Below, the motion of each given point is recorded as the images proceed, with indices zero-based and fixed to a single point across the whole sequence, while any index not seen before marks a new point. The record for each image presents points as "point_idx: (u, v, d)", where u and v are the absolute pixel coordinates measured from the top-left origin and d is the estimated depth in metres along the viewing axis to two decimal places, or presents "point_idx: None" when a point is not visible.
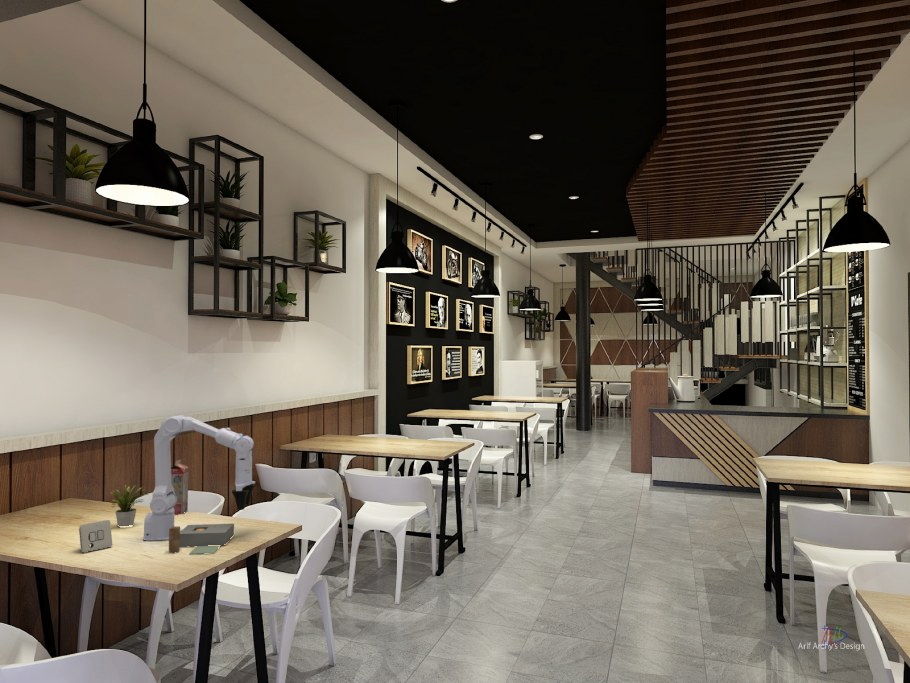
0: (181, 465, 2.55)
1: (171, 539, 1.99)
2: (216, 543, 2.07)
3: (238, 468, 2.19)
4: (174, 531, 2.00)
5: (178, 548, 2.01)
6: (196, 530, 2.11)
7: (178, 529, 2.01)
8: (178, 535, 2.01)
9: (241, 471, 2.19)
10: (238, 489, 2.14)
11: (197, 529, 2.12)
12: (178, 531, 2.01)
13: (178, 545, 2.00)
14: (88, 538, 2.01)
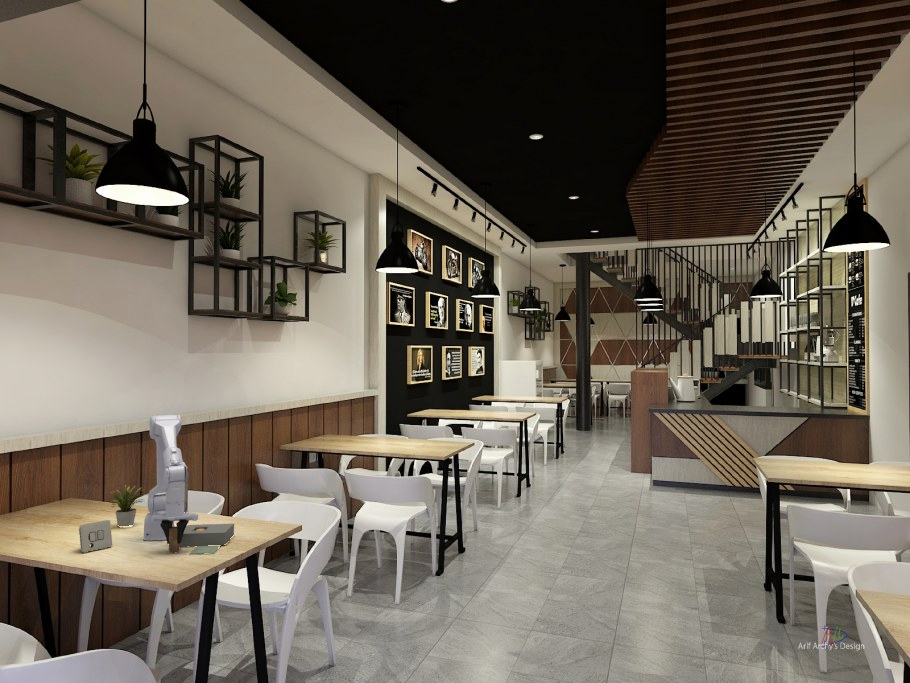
0: None
1: (171, 539, 1.99)
2: (216, 543, 2.07)
3: None
4: (174, 531, 2.00)
5: (178, 548, 2.01)
6: (196, 530, 2.11)
7: None
8: None
9: None
10: None
11: (197, 529, 2.12)
12: None
13: (178, 545, 2.00)
14: (88, 538, 2.01)
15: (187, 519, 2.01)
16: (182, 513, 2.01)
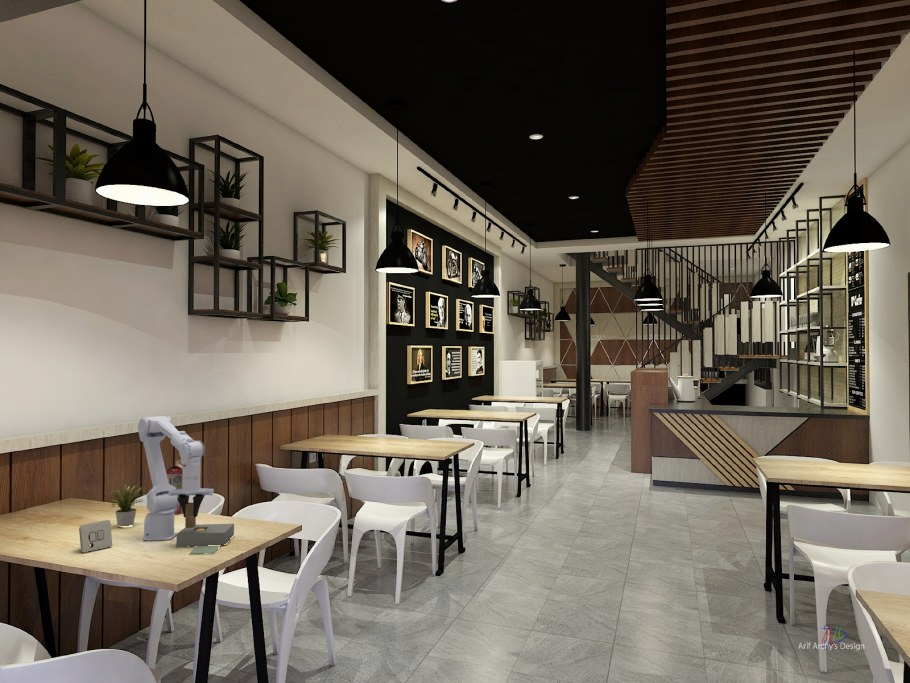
0: (181, 465, 2.55)
1: (187, 514, 2.07)
2: (216, 543, 2.07)
3: None
4: (190, 507, 2.07)
5: (194, 523, 2.08)
6: (196, 530, 2.11)
7: None
8: None
9: None
10: None
11: (197, 529, 2.12)
12: None
13: (194, 520, 2.08)
14: (88, 538, 2.01)
15: (203, 494, 2.08)
16: (198, 488, 2.08)
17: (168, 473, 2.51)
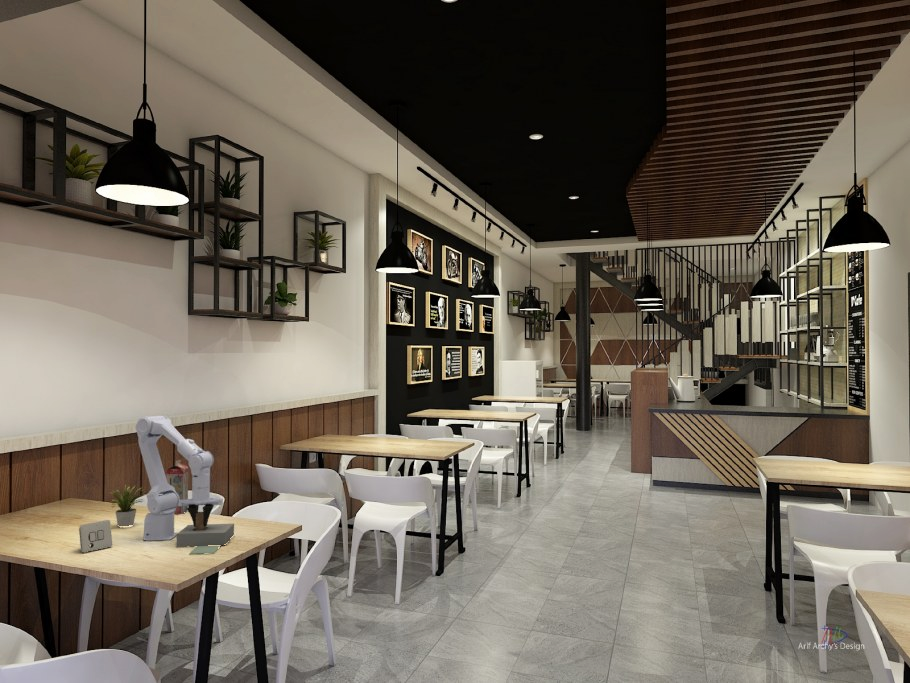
0: (181, 465, 2.55)
1: (197, 523, 2.11)
2: (216, 543, 2.07)
3: (192, 485, 2.11)
4: (200, 516, 2.11)
5: None
6: None
7: None
8: None
9: None
10: None
11: None
12: None
13: (204, 529, 2.12)
14: (88, 538, 2.01)
15: (212, 503, 2.13)
16: (208, 498, 2.12)
17: (168, 473, 2.51)
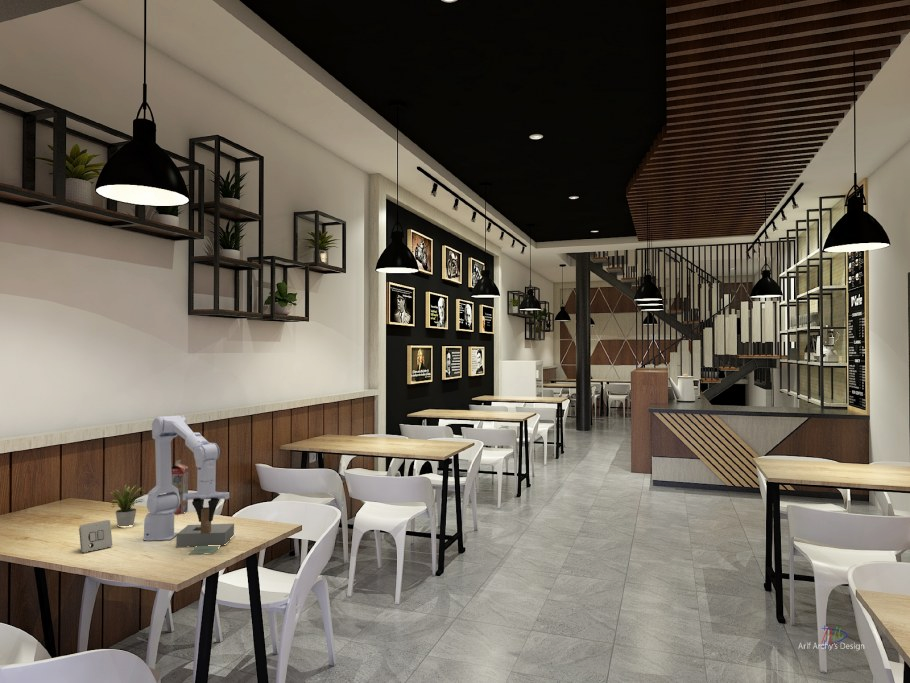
0: (181, 465, 2.55)
1: (202, 519, 2.01)
2: (216, 543, 2.07)
3: (197, 478, 2.01)
4: (206, 512, 2.01)
5: (210, 529, 2.02)
6: None
7: None
8: None
9: None
10: None
11: None
12: None
13: (209, 525, 2.02)
14: (88, 538, 2.01)
15: (218, 497, 2.02)
16: (213, 491, 2.02)
17: None
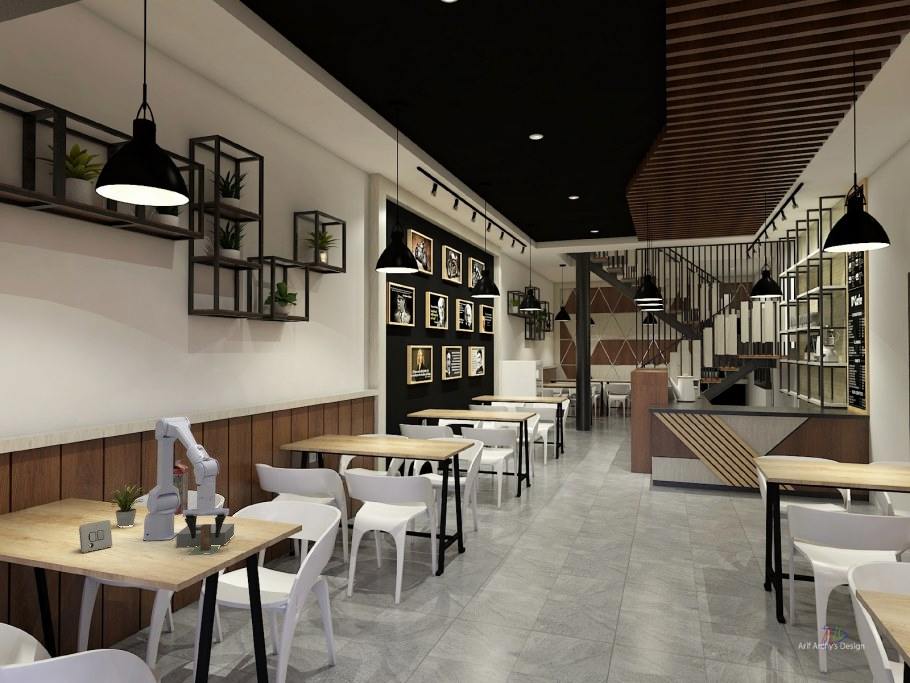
0: (181, 465, 2.55)
1: (202, 536, 2.01)
2: (216, 543, 2.07)
3: (197, 494, 2.01)
4: (206, 529, 2.01)
5: (209, 546, 2.02)
6: None
7: (209, 527, 2.02)
8: (209, 533, 2.02)
9: None
10: None
11: None
12: (209, 529, 2.02)
13: (209, 542, 2.02)
14: (88, 538, 2.01)
15: (218, 514, 2.02)
16: (213, 508, 2.02)
17: None
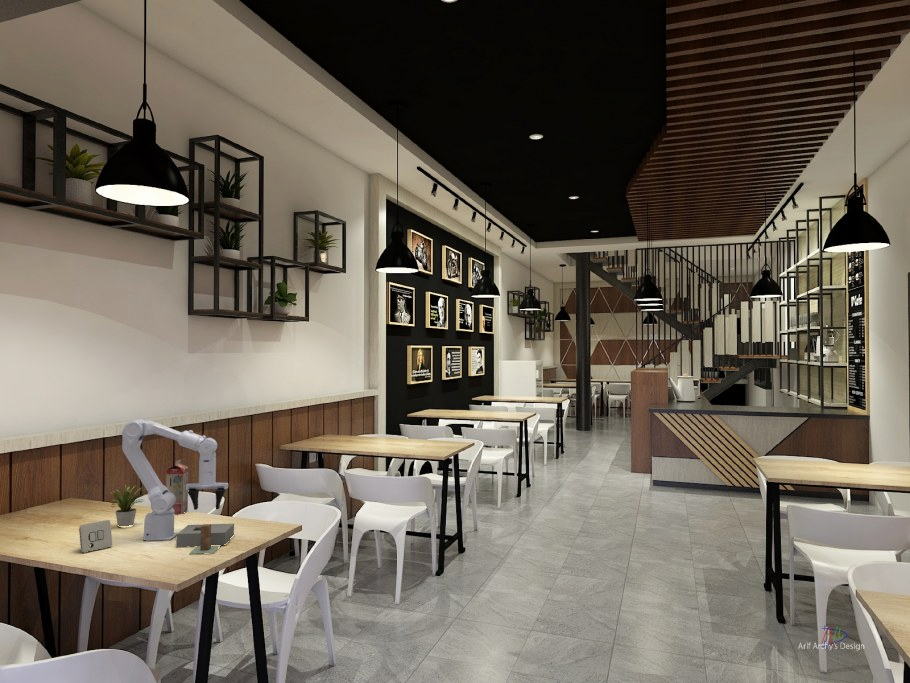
0: (181, 465, 2.55)
1: (202, 536, 2.01)
2: (216, 543, 2.07)
3: (202, 470, 2.19)
4: (206, 529, 2.01)
5: (209, 546, 2.02)
6: None
7: (209, 527, 2.02)
8: (209, 533, 2.02)
9: None
10: None
11: None
12: (209, 529, 2.02)
13: (209, 542, 2.02)
14: (88, 538, 2.01)
15: (218, 487, 2.21)
16: (214, 482, 2.21)
17: (168, 473, 2.51)
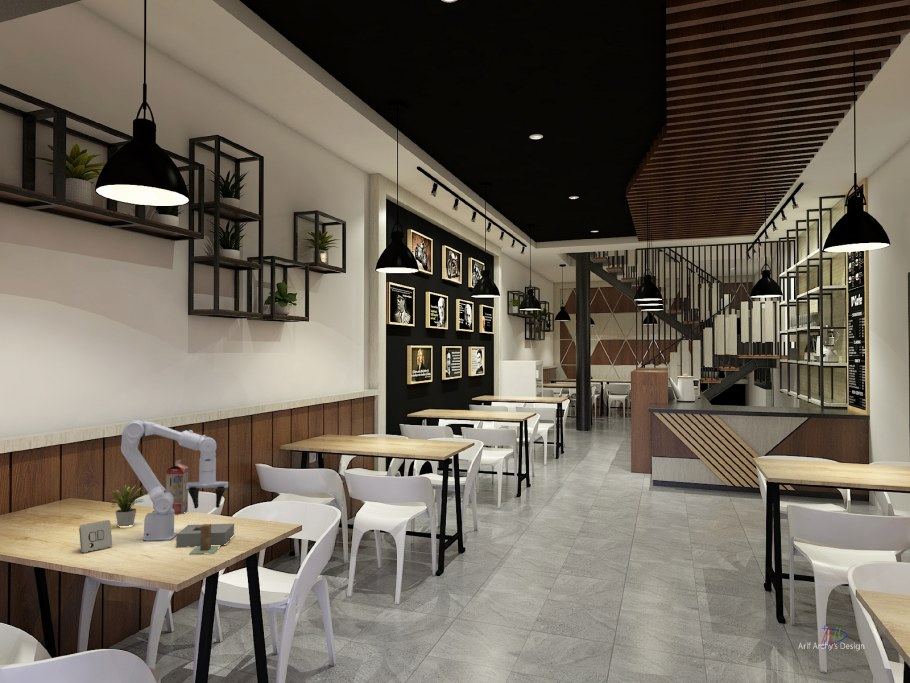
0: (181, 465, 2.55)
1: (202, 536, 2.01)
2: (216, 543, 2.07)
3: (203, 469, 2.21)
4: (206, 529, 2.01)
5: (209, 546, 2.02)
6: None
7: (209, 527, 2.02)
8: (209, 533, 2.02)
9: None
10: None
11: None
12: (209, 529, 2.02)
13: (209, 542, 2.02)
14: (88, 538, 2.01)
15: (218, 486, 2.24)
16: (214, 481, 2.23)
17: (168, 473, 2.51)
